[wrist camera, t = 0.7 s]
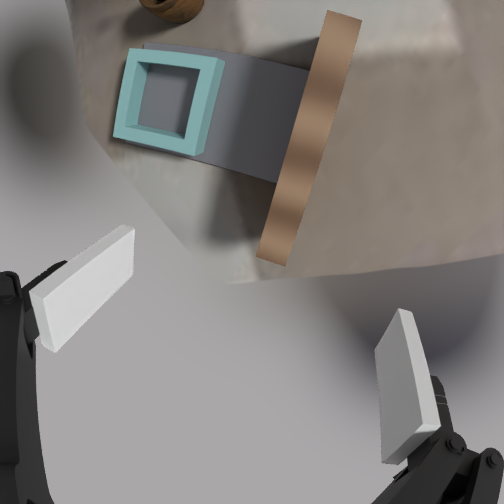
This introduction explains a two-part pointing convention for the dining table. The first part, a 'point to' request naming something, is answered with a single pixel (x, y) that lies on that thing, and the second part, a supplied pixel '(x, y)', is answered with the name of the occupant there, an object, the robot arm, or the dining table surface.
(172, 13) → the utensil holder
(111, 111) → the dining table surface
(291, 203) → the backstop wall
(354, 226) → the dining table surface
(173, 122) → the grey flat plate
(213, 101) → the socket frame
